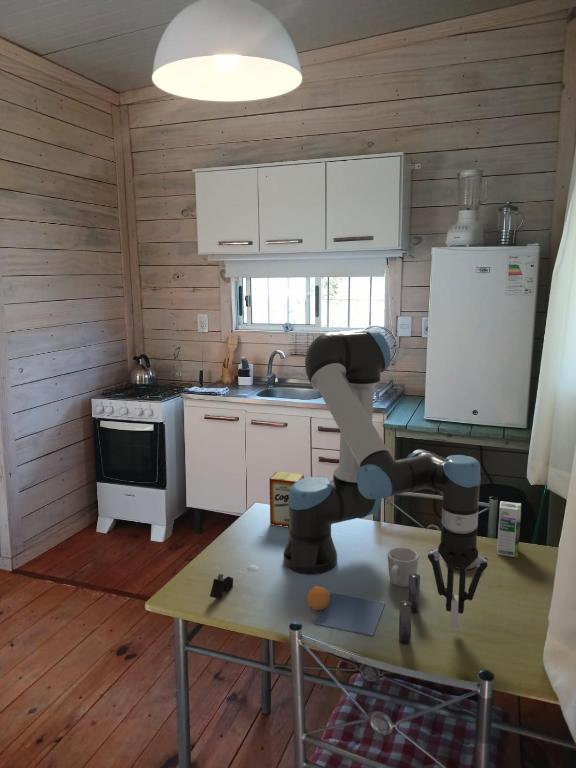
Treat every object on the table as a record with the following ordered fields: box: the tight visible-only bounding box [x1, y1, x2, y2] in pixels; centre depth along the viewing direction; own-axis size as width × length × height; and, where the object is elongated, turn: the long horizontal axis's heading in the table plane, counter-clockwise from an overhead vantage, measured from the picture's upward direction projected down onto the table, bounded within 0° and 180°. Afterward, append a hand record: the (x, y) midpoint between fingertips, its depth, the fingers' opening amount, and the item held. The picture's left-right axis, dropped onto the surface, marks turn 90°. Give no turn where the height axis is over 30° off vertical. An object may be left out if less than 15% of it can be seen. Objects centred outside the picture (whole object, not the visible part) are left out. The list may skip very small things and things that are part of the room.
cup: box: [387, 546, 420, 588], centre depth 156 cm, size 11×8×8 cm
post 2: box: [407, 573, 421, 614], centre depth 144 cm, size 3×3×9 cm
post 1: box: [398, 600, 413, 645], centre depth 133 cm, size 3×3×9 cm
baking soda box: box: [269, 471, 305, 528], centre depth 193 cm, size 10×6×16 cm
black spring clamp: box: [209, 573, 234, 600], centre depth 153 cm, size 9×2×6 cm
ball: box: [306, 585, 330, 611], centre depth 146 cm, size 6×6×6 cm
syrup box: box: [496, 500, 522, 559], centre depth 172 cm, size 6×6×14 cm
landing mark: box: [313, 591, 386, 637], centre depth 144 cm, size 14×14×1 cm
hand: (454, 624), depth 136 cm, fingers closed
